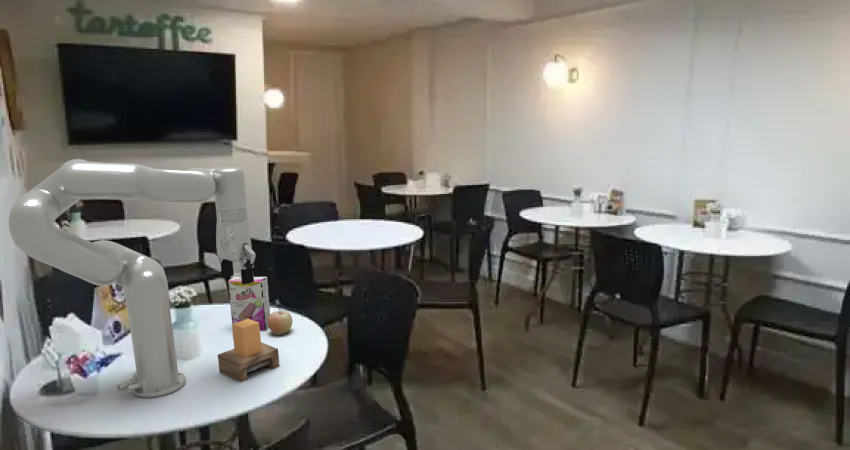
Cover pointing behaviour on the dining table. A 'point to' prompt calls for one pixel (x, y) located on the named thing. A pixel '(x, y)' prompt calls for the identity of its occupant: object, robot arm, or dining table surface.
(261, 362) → the shelf
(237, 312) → the candy bar box
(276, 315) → the fruit
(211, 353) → the dining table surface
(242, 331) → the upright orange cuboid
